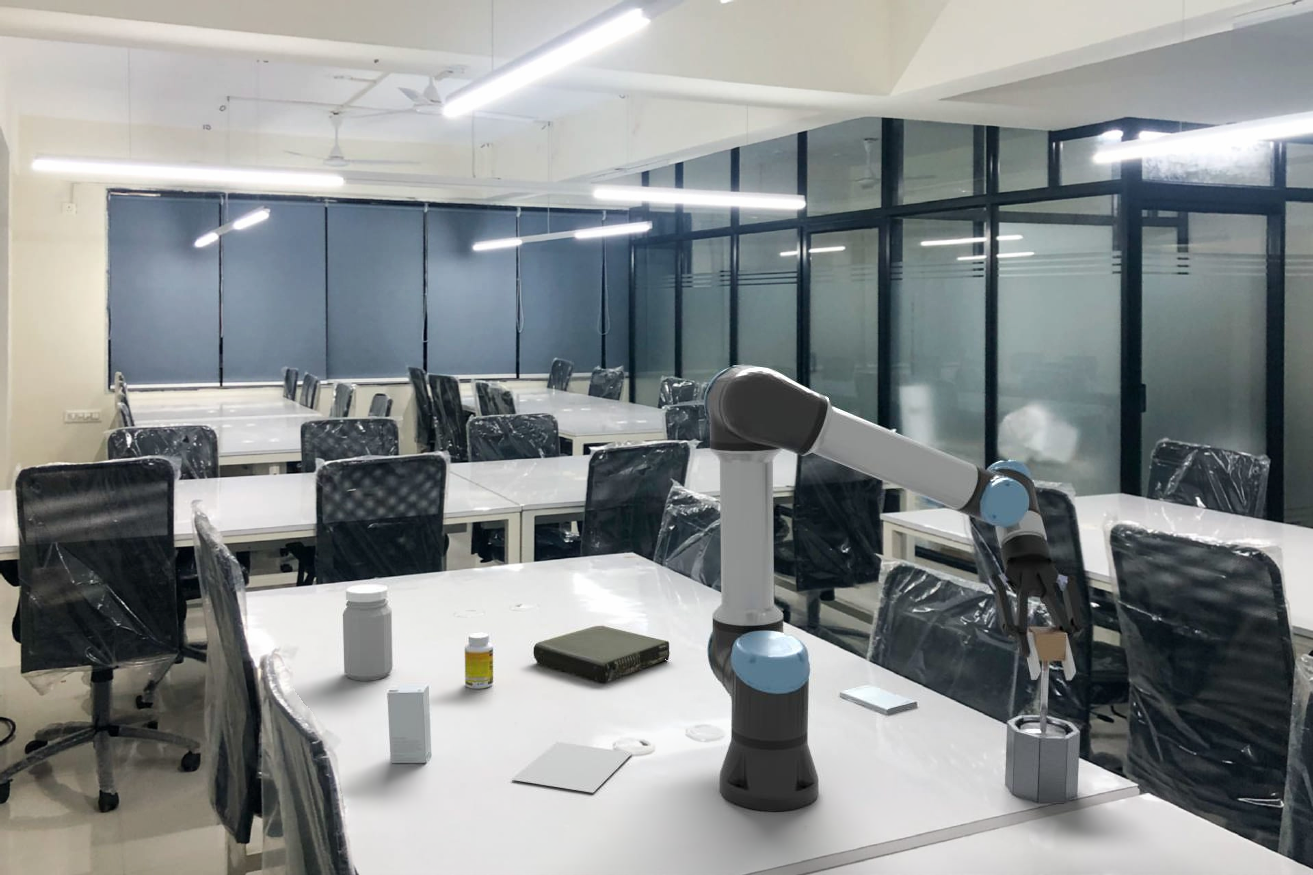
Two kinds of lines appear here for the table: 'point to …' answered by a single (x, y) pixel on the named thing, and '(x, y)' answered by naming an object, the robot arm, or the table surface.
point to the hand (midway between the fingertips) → (1053, 675)
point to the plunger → (1046, 675)
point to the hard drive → (878, 699)
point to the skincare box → (409, 723)
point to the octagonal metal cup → (1042, 761)
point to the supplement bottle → (478, 661)
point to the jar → (367, 632)
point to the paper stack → (573, 767)
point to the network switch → (600, 653)
